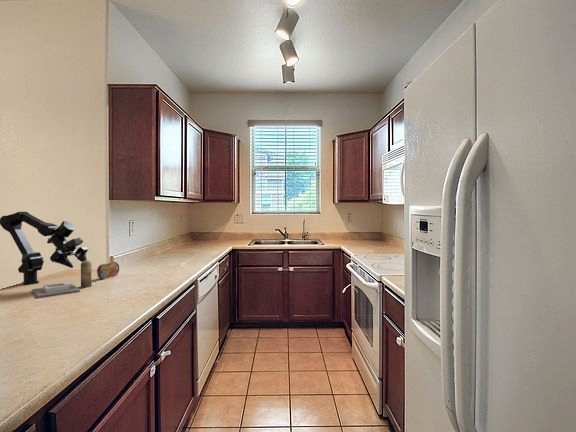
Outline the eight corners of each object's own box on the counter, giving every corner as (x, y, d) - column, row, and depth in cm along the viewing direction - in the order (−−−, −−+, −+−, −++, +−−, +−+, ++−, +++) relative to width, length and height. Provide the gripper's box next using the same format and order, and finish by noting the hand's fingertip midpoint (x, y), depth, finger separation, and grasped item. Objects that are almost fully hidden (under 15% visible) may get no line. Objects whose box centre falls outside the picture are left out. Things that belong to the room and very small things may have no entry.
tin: (100, 280, 180) (100, 265, 180) (95, 280, 181) (95, 264, 180) (119, 274, 195) (119, 260, 195) (115, 274, 195) (115, 260, 195)
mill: (79, 286, 166) (79, 261, 165) (90, 284, 169) (89, 260, 169) (82, 288, 163) (82, 262, 162) (92, 286, 166) (92, 261, 165)
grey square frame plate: (32, 291, 155) (32, 285, 155) (71, 285, 167) (71, 280, 167) (38, 298, 144) (37, 291, 144) (79, 291, 156) (79, 285, 155)
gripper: (54, 234, 158) (74, 257, 156) (85, 231, 176) (103, 252, 174) (41, 250, 159) (60, 273, 157) (72, 245, 178) (90, 266, 176)
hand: (80, 265), depth 166 cm, fingers open, 9 cm apart
